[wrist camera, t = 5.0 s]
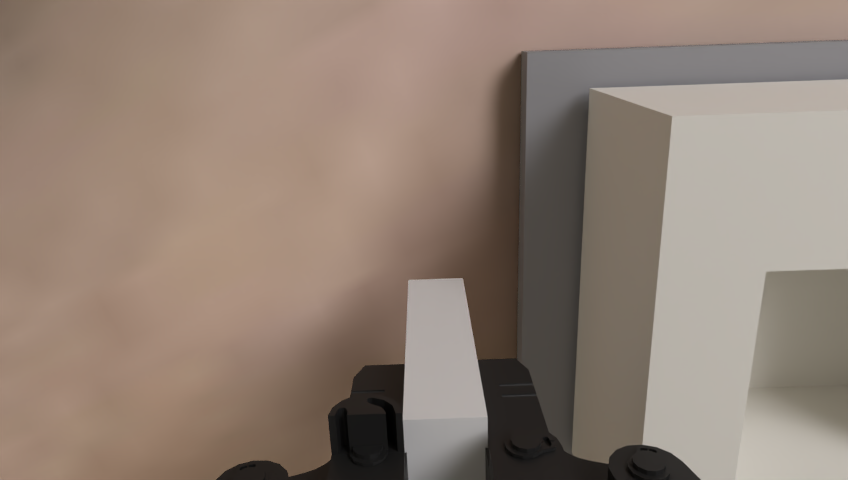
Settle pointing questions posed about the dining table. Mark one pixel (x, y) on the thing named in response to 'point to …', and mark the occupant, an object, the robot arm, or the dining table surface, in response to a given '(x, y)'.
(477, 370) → the robot arm
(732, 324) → the sliding block
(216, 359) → the dining table surface
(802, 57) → the backstop wall
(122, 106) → the dining table surface
